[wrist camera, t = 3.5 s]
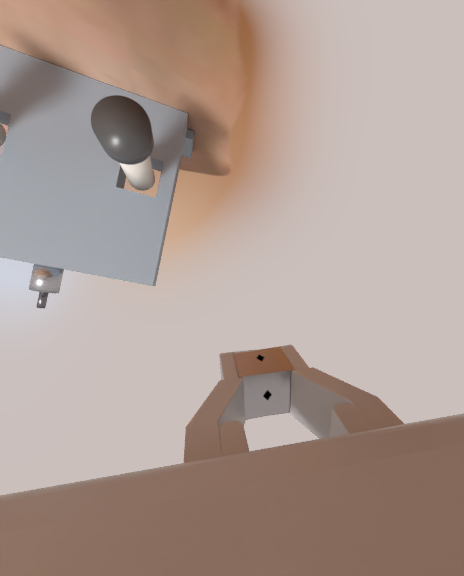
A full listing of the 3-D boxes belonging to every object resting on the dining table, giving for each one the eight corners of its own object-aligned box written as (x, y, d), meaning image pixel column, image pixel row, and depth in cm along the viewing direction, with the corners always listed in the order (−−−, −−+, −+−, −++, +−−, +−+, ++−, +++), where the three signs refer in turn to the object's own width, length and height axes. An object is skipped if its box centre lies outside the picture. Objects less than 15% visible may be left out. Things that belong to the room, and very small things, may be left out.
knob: (97, 86, 18) (85, 141, 18) (156, 107, 19) (145, 160, 19) (125, 153, 28) (118, 190, 28) (163, 165, 29) (156, 200, 29)
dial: (27, 262, 26) (18, 306, 26) (53, 267, 26) (44, 310, 26) (45, 264, 28) (37, 304, 28) (69, 269, 29) (61, 308, 29)
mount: (-60, 23, 23) (-108, 236, 23) (195, 116, 29) (160, 287, 29) (0, 88, 31) (-35, 248, 31) (192, 151, 37) (165, 286, 36)
